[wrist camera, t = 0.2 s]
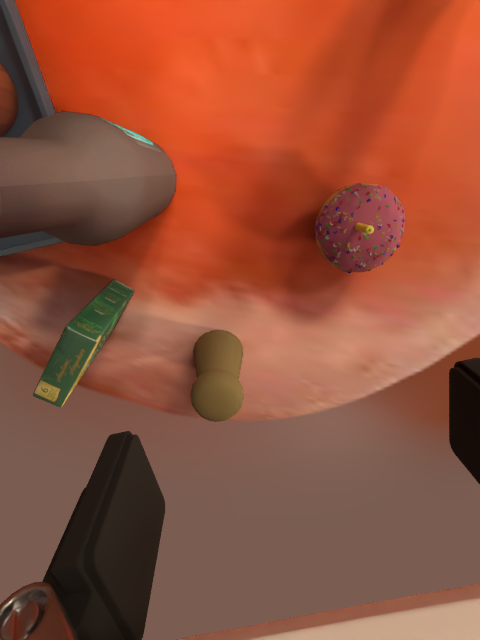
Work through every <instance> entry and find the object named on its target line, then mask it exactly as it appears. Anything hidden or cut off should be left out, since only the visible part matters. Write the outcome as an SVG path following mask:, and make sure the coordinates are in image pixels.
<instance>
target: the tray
mask: <svg viewBox="0 0 480 640" xmlns="http://www.w3.org/2000/svg"><path fill="white" fill-rule="evenodd" d="M0 63H1V64H2V65H3V66H4V67H5V69H6V70H7V72H8V73H9V75H10V76H11V78H12V80H13V82H14V84H15V87H16V90H17V95H18V102H19V105H18V114H17V117H16V120H15V122H14V124H13V126H12V127H11V128H10V129H9V130H8V131H7V132H6V133H5V134H3V135H1V136H0V137H11V138H20V136H21V135H22V134H23V133H24V132H25V131H26V130H27V129H28V128H29V127H30V126H31V125H32V124H33V123H34V122H35V121H36V120H38V119H41V118H44V117H47V116H50V115H53V114H56V113H55V110H54V107H53V104H52V102H51V99H50V96H49V93H48V91H47V88H46V85H45V82H44V80H43V77H42V74H41V71H40V69H39V66H38V63H37V60H36V58H35V55H34V52H33V49H32V47H31V44H30V41H29V38H28V36H27V33H26V30H25V27H24V25H23V22H22V19H21V16H20V14H19V11H18V8H17V5H16V3H15V0H0ZM60 242H65V241H63V240H60V239H58V238H56V237H54V236H52V235H50V234H48V233H46V232H44V231H39V232H34V233H28V234H23V235H17V236H11V237H6V238H0V257H1V256H5V255H9V254H14V253H18V252H22V251H26V250H31V249H35V248H39V247H43V246H48V245H52V244H56V243H60Z"/></svg>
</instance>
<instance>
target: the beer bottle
mask: <svg viewBox="0 0 480 640" xmlns="http://www.w3.org/2000/svg"><path fill="white" fill-rule="evenodd" d="M175 191H176V173H175V170H174V167H173V164H172V161H171V159H170V158H169V157H168V156H167V154H166V153H165V152H164V151H163V149H162V148H161V147H160V146H159V145H157V144H155V143H153V142H152V141H150V140H148V139H146V138H145V137H143V136H141V135H139V134H137V133H134V132H132V131H130V130H128V129H125V128H123V127H121V126H119V125H116V124H114V123H112V122H110V121H107V120H105V119H103V118H100V117H97V116H94V115H90V114H82V113H74V112H66V111H62V112H59V113H56V114H53V115H50V116H47V117H44V118H41V119H38V120H36V121H35V122H34V123H33V124H32V125H31V126H30V127H29V128H28V129H27V130H26V131H25V132H24V133H23V134H22V135H21V136H20V138H11V137H0V238H6V237H11V236H17V235H23V234H28V233H34V232H39V231H44V232H46V233H48V234H50V235H52V236H54V237H56V238H58V239H60V240H63V241H65V242H67V243H70V244H79V245H89V246H97V245H100V244H103V243H107V242H110V241H113V240H116V239H119V238H121V237H123V236H124V235H126V234H128V233H129V232H131V231H133V230H134V229H136V228H137V227H139V226H141V225H142V224H144V223H146V222H147V221H149V220H151V219H152V218H154V217H155V216H157V215H158V214H159V213H161V212H162V211H163V210H164V209H165V208H166V207H167V206H168V205H169V204H170V202H171V200H172V198H173V196H174V193H175Z"/></svg>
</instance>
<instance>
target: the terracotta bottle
mask: <svg viewBox="0 0 480 640" xmlns="http://www.w3.org/2000/svg"><path fill="white" fill-rule="evenodd" d="M18 105H19V102H18V95H17V90H16V87H15V84H14V82H13V80H12V78H11V76H10V75H9V73H8V72H7V70H6V69H5V67H4V66H3V65H2V64H1V63H0V136H1V135H3V134H5V133H6V132H7V131H8V130H9V129H10V128H11V127H12V126H13V124H14V122H15V120H16V117H17V114H18Z"/></svg>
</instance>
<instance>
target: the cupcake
mask: <svg viewBox="0 0 480 640" xmlns="http://www.w3.org/2000/svg"><path fill="white" fill-rule="evenodd" d="M397 198H398V197H395V196H394V195H393V193H392V192H391V191H390V190H389V189H388V188H386V187H385V186H382V185H376V184H369V183H358V184H352V185H348V186H345V187H343V188H341V189H339V190H337V191H336V192H335V193H333V194H332V195H331V196H330V197H329V198H328V199H327V200H326V201H325V202H324V203H323V205H322V208H321V210H320V213H319V215H318V217H317V219H316V223H315V237H316V244H317V247H318V249H319V250H320V252H321V254H322V256H323V258H324V259H325V260H326V261H327V262H328V263H330V264H331V265H333V266H336V267H337V268H338V269H339V270H342V271H345V272H348V273H351V272H365V271H370V270H371V269H373V268H375V267H377V266H379V265H381V264H382V265H383V263H384V262H385V261H386V260H388V258H390V256H392V255H393V253H394V251H395V250H396V248H398V246H399V243H400V241H401V239H402V236H403V233H404V225H405V212H404V209H403V207H402V204H400V202H399V201H398V200H399V198H398V199H397ZM399 247H400V246H399Z"/></svg>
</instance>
